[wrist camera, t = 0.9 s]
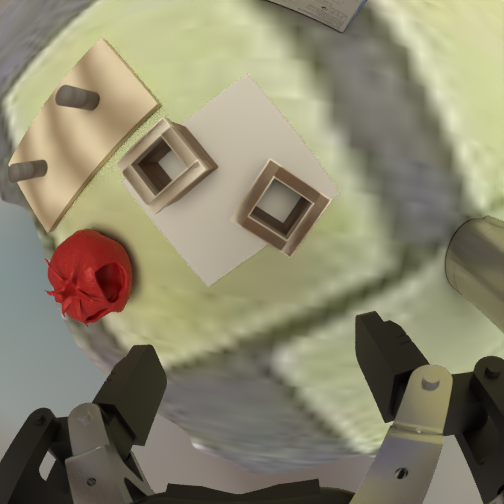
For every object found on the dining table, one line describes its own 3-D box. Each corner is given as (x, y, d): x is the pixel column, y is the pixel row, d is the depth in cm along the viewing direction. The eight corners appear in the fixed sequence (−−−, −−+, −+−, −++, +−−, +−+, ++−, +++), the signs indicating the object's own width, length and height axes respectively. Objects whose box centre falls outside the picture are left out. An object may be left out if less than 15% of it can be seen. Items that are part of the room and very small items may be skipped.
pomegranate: (67, 272, 30) (20, 305, 21) (88, 206, 27) (30, 227, 18) (125, 318, 31) (87, 365, 22) (157, 256, 28) (112, 297, 19)
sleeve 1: (186, 125, 23) (162, 116, 18) (220, 167, 24) (206, 169, 19) (146, 161, 24) (115, 164, 19) (178, 202, 26) (154, 214, 20)
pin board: (106, 40, 20) (76, 23, 14) (162, 105, 23) (133, 93, 17) (14, 163, 25) (-19, 169, 19) (53, 230, 28) (20, 245, 22)
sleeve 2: (269, 158, 24) (269, 157, 18) (317, 190, 25) (331, 199, 19) (238, 206, 25) (229, 220, 20) (285, 236, 26) (290, 258, 20)
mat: (247, 74, 22) (247, 73, 21) (339, 192, 25) (340, 192, 24) (123, 181, 26) (121, 181, 25) (208, 285, 29) (207, 287, 28)
